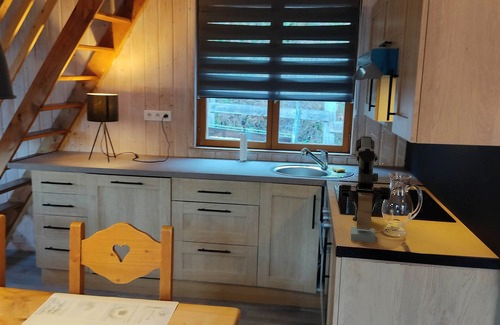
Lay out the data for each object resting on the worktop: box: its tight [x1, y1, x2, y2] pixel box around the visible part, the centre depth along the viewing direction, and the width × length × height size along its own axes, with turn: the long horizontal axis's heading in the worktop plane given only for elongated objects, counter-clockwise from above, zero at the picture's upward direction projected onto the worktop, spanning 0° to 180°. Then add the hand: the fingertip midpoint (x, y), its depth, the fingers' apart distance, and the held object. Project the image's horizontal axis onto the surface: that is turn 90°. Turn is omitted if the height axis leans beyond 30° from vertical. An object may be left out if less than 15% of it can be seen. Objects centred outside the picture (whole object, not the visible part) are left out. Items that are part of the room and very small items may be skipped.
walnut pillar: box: [356, 193, 373, 230], centre depth 171 cm, size 5×5×13 cm
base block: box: [350, 226, 377, 243], centre depth 173 cm, size 9×9×3 cm
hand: (364, 211), depth 170 cm, fingers closed on walnut pillar, 5 cm apart
